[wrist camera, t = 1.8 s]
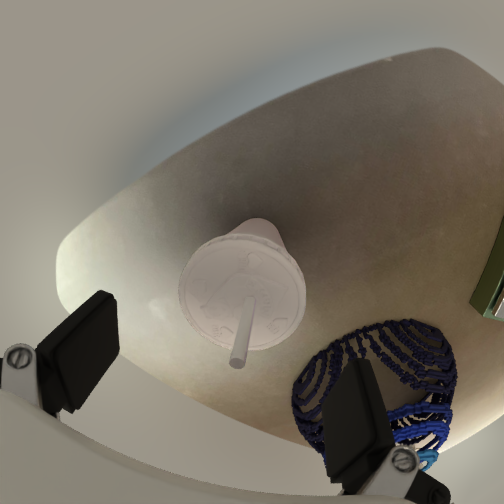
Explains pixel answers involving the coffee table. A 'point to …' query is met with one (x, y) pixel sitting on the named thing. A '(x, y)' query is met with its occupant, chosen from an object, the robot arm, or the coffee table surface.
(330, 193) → the coffee table surface
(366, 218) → the coffee table surface
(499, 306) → the scale platform
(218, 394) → the coffee table surface
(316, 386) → the decorative bowl
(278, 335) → the smoothie
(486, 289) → the scale
